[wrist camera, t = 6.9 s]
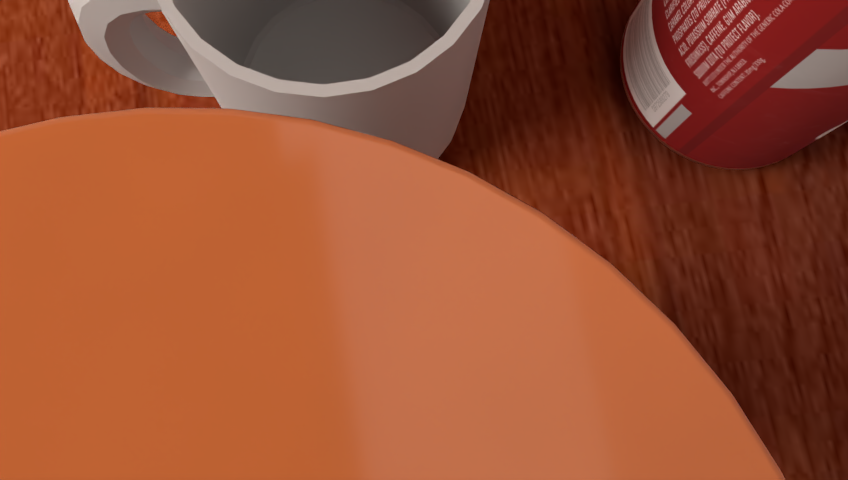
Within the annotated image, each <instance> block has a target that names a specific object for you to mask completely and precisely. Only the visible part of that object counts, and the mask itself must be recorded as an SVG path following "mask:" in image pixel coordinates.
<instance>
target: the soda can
mask: <svg viewBox="0 0 848 480" xmlns="http://www.w3.org/2000/svg"><path fill="white" fill-rule="evenodd" d="M620 70H621V77H622V82H623V86H624V89H625V92H626V95H627V98H628V100H629V102H630V105H631V106H632V108H633V110H634V112H635V114H636V115H637V117H638V118H639V120H640V121H641V122H642V124H643V125H644V126H645V127H646V129H647V130H648V131H649V132H650V133H651V134H652V135H653V136H654V137H655V138H656V139H657V140H658V141H660V142H661V143H662V144H663V145H664V146H666V147H667V148H669V149H670V150H672V151H673V152H675V153H676V154H678V155H680V156H682V157H684V158H686V159H688V160H690V161H693V162H695V163H698V164H701V165H704V166H708V167H712V168H718V169H725V170H748V169H755V168H760V167H764V166H768V165H771V164H774V163H777V162H779V161H781V160H783V159H785V158H787V157H789V156H791V155H792V154H794V153H796V152H797V151H799V150H801V149H802V148H804V147H806V146H807V145H809V144H811V143H812V142H814V141H816V140H817V139H819V138H821V137H822V136H824V135H826V134H827V133H829V132H831V131H832V130H834V129H836V128H838V127H839V126H841V125H843V124H844V123H846V122H848V0H639V2H638V3H637V5H636V7H635V8H634V10H633V12H632V14H631V15H630V17H629V19H628V22H627V24H626V26H625V30H624V33H623V36H622V41H621V48H620Z"/></svg>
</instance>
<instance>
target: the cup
mask: <svg viewBox="0 0 848 480" xmlns="http://www.w3.org/2000/svg"><path fill="white" fill-rule="evenodd" d="M489 1H490V0H68V2H69V4H70V7H71V9H72V11H73V14H74V16H75V18H76V21H77V23H78V26H79V28H80V30H81V33H82V35H83V37H84V40H85V42H86V43H87V44H88V46H89V47H90V48H91V49H92V50H93V51H94V52H95V53H96V55H97V56H98V57H99V58H100V59H101V60H102V61H104V62H105V63H107V64H108V65H109V66H111V67H112V68H114V69H115V70H116V71H118V72H119V73H120V74H122V75H124V76H127V77H129V78H131V79H133V80H135V81H137V82H140V83H142V84H144V85H146V86H150V87H154V88H157V89H161V90H165V91H168V92H172V93H176V94H180V95H189V96H199V97H215V98H216V100H217V101H218V103H219V104H220V106H221V108H232V109H239V110H246V111H254V112H261V113H269V114H276V115H284V116H291V117H299V118H306V119H313V120H317V121H321V122H325V123H328V124H332V125H336V126H340V127H343V128H347V129H351V130H355V131H359V132H362V133H366V134H370V135H374V136H377V137H381V138H385V139H389V140H393V141H395V142H398V143H400V144H403V145H405V146H407V147H410V148H412V149H415V150H417V151H420V152H422V153H425V154H427V155H430V156H432V157H435V158H437V159H438V158H439V157H440V155H441V154H442V153H443V151H444V150H445V149H446V147H447V146H448V145H449V144H450V142H451V140H452V138H453V136H454V133H455V131H456V128H457V125H458V123H459V120H460V118H461V115H462V112H463V110H464V107H465V103H466V99H467V95H468V91H469V86H470V82H471V78H472V74H473V69H474V65H475V61H476V57H477V52H478V48H479V44H480V40H481V35H482V31H483V27H484V22H485V18H486V14H487V10H488V5H489ZM157 11H162V12H163V14H164V16H165V17H166V19H167V20H168V22H169V24H170V25H171V27H172V28H173V30H174V32H175V33H176V35H177V37H175V36H173V35H171V34H169V33H167V32H166V31H164V30H163V29H161V28H159V27H158V26H157V25H156V24H155V23H154V22H153V21H152V20H150V19H149V18H148V17H147V16H146V15H145V14H144V13H148V12H157Z"/></svg>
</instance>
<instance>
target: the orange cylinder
mask: <svg viewBox="0 0 848 480" xmlns="http://www.w3.org/2000/svg"><path fill="white" fill-rule="evenodd" d="M0 480H785V478H784V476H783V474H782V471H781V470H780V468H779V467H778V465H777V463H776V462H775V460H774V459H773V457H772V456H771V454H770V452H769V451H768V449H767V448H766V446H765V445H764V443H763V441H762V440H761V438H760V437H759V435H758V434H757V432H756V430H755V429H754V427H753V426H752V424H751V423H750V421H749V420H748V418H747V416H746V415H745V413H744V412H743V410H742V409H741V407H740V405H739V404H738V402H737V401H736V399H735V398H734V396H733V394H732V393H731V392H730V390H729V389H728V388H727V387H726V385H725V384H724V383H723V382H722V381H721V379H720V378H719V377H718V376H717V375H716V373H715V372H714V371H713V370H712V368H711V367H710V366H709V365H708V364H707V362H706V361H705V360H704V359H703V357H702V356H701V355H700V354H699V353H698V351H697V350H696V349H695V348H694V347H693V345H692V344H691V343H690V342H689V340H688V339H687V338H686V337H685V336H684V334H683V333H682V332H681V331H680V329H679V328H678V327H677V326H676V325H675V323H674V322H673V321H671V320H670V319H669V318H668V317H667V316H666V315H665V314H664V313H663V312H662V311H661V310H660V309H659V308H658V307H657V306H656V305H655V304H654V303H653V302H651V301H650V300H649V299H648V298H647V297H646V296H645V295H644V294H643V293H642V292H641V291H640V290H639V289H638V288H637V287H636V286H635V285H634V284H633V283H632V282H630V281H629V280H628V279H627V278H626V277H625V276H624V275H623V274H622V273H621V272H620V271H619V270H618V269H617V268H616V267H615V266H614V265H613V264H612V263H610V262H609V261H608V260H606V259H605V258H603V257H602V256H601V255H599V254H598V253H597V252H595V251H594V250H593V249H591V248H590V247H589V246H587V245H586V244H585V243H583V242H582V241H580V240H579V239H578V238H576V237H575V236H574V235H572V234H571V233H570V232H568V231H567V230H566V229H564V228H563V227H562V226H560V225H559V224H557V223H556V222H555V221H553V220H552V219H551V218H549V217H548V216H547V215H545V214H544V213H542V212H541V211H539V210H537V209H535V208H534V207H532V206H530V205H528V204H526V203H525V202H523V201H521V200H519V199H518V198H516V197H514V196H512V195H510V194H509V193H507V192H505V191H503V190H501V189H500V188H498V187H496V186H494V185H493V184H491V183H489V182H487V181H485V180H484V179H482V178H480V177H478V176H476V175H475V174H473V173H471V172H469V171H467V170H464V169H462V168H459V167H457V166H454V165H452V164H449V163H447V162H445V161H442V160H440V159H437V158H435V157H432V156H430V155H427V154H425V153H422V152H420V151H417V150H415V149H412V148H410V147H407V146H405V145H403V144H400V143H398V142H395V141H393V140H389V139H385V138H381V137H377V136H374V135H370V134H366V133H362V132H359V131H355V130H351V129H347V128H343V127H340V126H336V125H332V124H328V123H325V122H321V121H317V120H313V119H306V118H299V117H291V116H284V115H276V114H269V113H261V112H254V111H246V110H239V109H232V108H139V109H130V110H121V111H112V112H103V113H94V114H86V115H77V116H68V117H59V118H55V119H51V120H47V121H42V122H38V123H34V124H30V125H26V126H21V127H17V128H13V129H9V130H4V131H0Z"/></svg>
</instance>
